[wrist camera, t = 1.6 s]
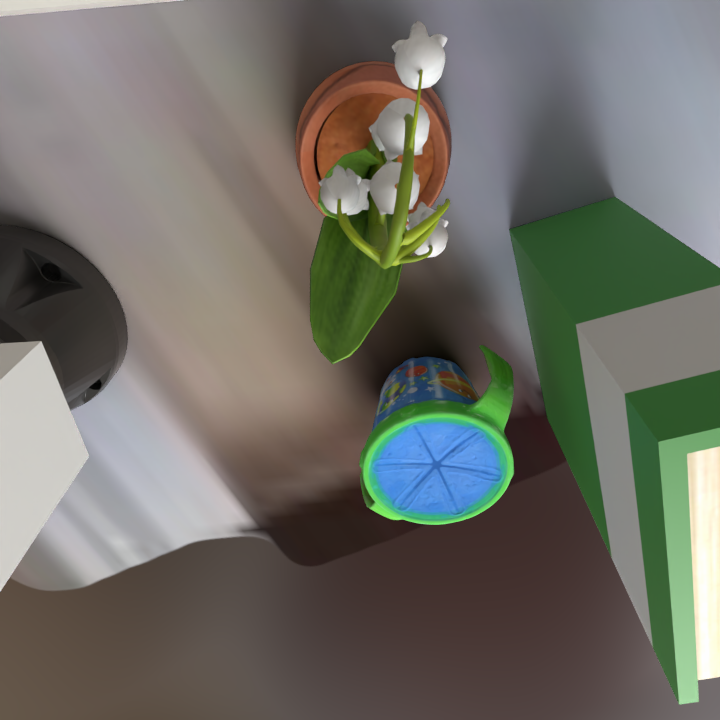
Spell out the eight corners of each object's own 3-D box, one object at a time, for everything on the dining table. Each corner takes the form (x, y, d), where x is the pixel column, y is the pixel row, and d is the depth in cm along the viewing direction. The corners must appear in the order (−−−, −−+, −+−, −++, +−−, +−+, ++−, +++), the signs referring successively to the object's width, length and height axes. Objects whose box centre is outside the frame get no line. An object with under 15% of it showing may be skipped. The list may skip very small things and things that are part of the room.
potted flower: (307, 12, 33) (196, -18, 12) (470, 37, 34) (645, 53, 13) (292, 208, 40) (202, 423, 18) (431, 227, 40) (505, 457, 19)
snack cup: (405, 474, 52) (412, 563, 43) (318, 412, 49) (307, 496, 40) (537, 368, 46) (576, 448, 37) (449, 289, 43) (470, 357, 34)
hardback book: (635, 395, 47) (841, 679, 27) (547, 417, 49) (679, 704, 28) (615, 196, 39) (894, 386, 18) (509, 229, 40) (658, 441, 19)
